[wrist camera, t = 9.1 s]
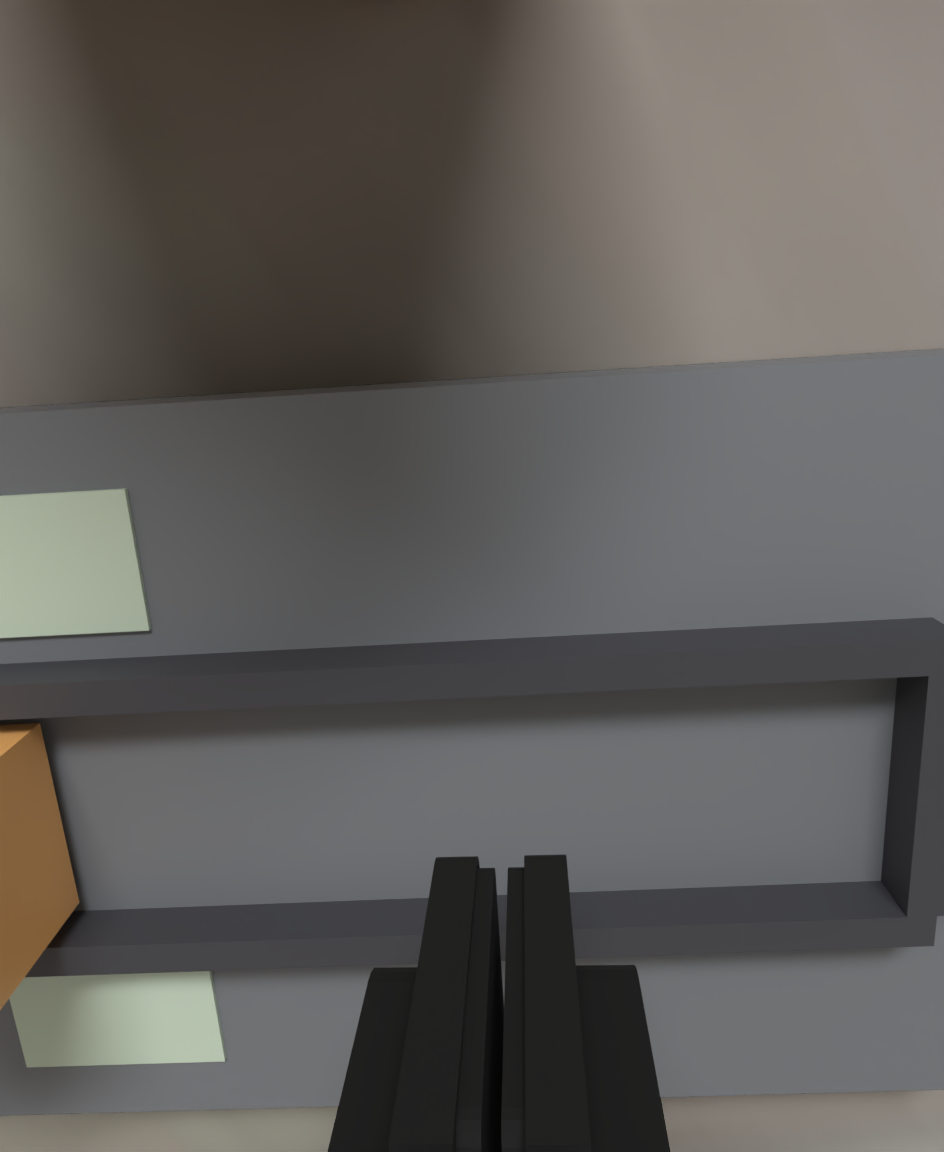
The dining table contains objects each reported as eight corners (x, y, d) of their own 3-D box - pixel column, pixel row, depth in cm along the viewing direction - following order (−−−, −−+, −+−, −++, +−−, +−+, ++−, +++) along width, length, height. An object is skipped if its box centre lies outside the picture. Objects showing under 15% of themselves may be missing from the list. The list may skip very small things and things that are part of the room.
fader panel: (1013, 344, 15) (1141, 346, 12) (941, 1009, 18) (1025, 1134, 15) (-319, 428, 16) (-503, 448, 13) (-126, 1043, 19) (-234, 1166, 16)
